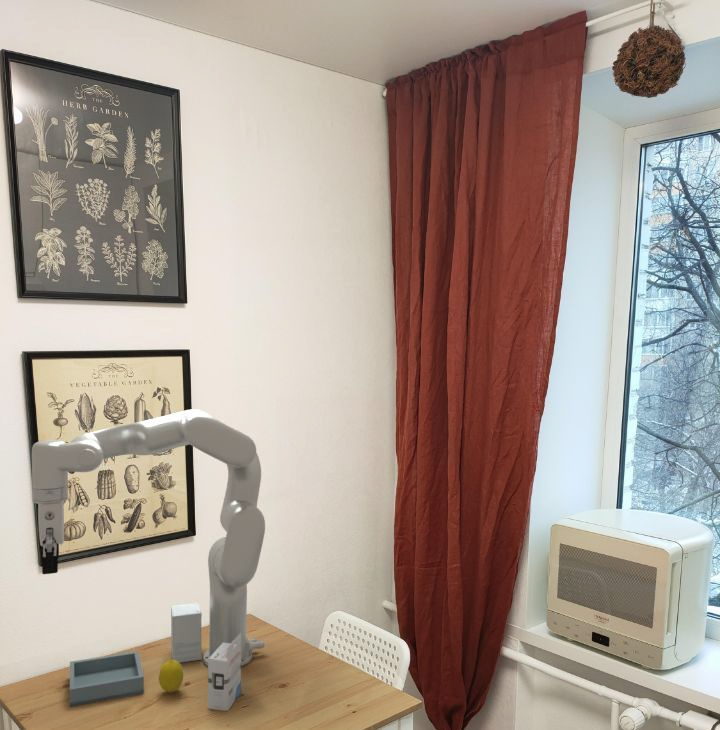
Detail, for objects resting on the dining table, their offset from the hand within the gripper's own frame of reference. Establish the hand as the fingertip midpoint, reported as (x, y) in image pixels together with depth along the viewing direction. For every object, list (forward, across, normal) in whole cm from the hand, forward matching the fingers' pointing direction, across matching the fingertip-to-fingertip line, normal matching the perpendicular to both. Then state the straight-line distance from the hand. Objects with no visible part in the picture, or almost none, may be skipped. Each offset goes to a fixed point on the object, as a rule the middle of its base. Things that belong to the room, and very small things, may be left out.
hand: (50, 566), depth 158 cm
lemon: (+30, -10, -26) cm, 41 cm away
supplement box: (+30, +7, -32) cm, 45 cm away
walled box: (+30, -2, -12) cm, 32 cm away
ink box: (+30, -18, -37) cm, 51 cm away
